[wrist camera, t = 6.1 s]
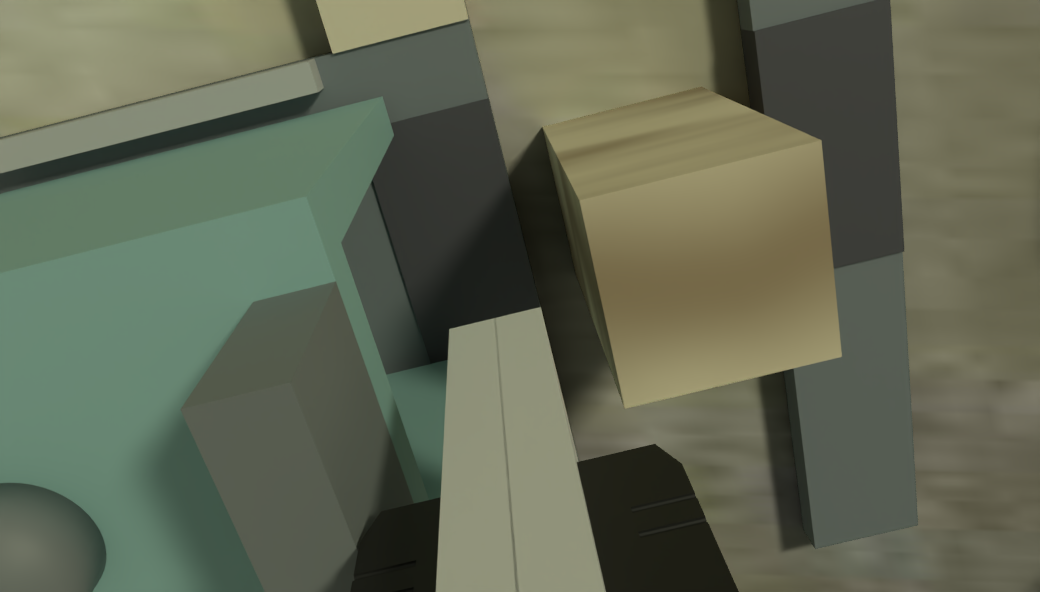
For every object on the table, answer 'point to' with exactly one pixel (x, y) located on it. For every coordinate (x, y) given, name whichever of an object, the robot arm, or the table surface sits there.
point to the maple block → (697, 242)
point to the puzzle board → (496, 228)
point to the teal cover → (203, 371)
